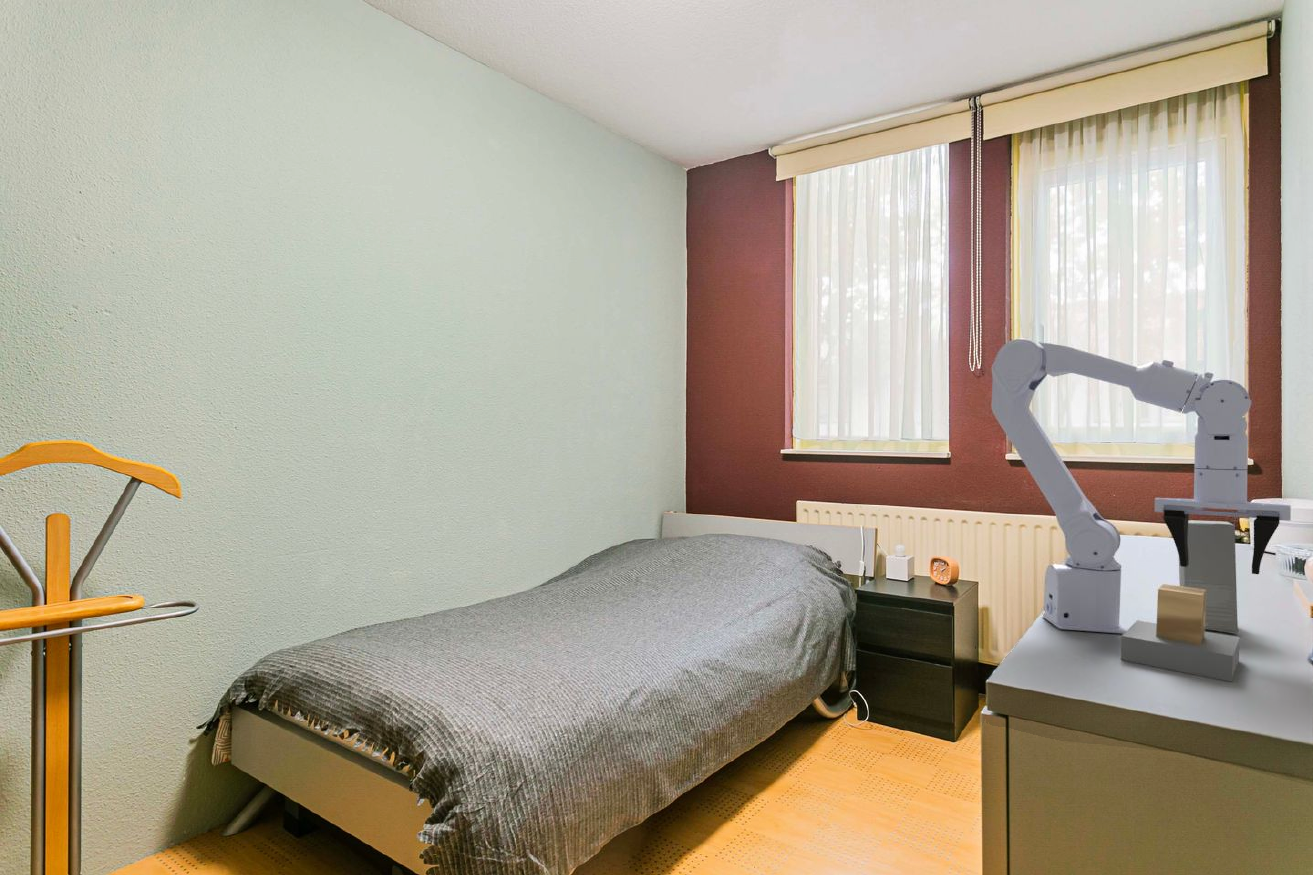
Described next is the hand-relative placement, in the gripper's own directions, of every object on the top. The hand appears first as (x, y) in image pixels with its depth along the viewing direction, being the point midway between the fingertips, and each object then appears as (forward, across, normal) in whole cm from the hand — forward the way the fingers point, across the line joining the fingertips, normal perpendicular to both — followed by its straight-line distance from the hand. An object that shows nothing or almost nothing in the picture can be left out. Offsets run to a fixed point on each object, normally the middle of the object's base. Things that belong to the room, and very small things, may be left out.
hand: (1219, 569), depth 100 cm
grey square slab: (+10, -3, -12) cm, 16 cm away
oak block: (+7, -3, -12) cm, 14 cm away
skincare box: (+11, -3, +13) cm, 17 cm away
